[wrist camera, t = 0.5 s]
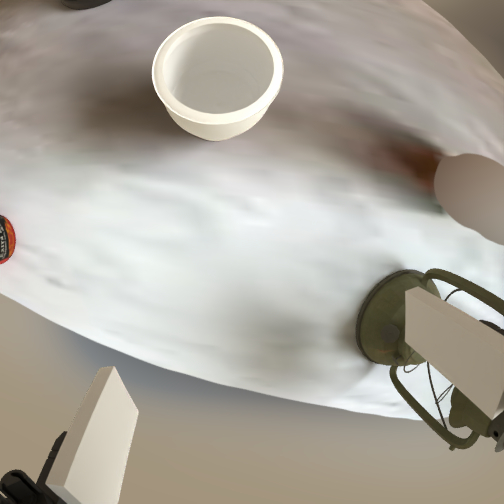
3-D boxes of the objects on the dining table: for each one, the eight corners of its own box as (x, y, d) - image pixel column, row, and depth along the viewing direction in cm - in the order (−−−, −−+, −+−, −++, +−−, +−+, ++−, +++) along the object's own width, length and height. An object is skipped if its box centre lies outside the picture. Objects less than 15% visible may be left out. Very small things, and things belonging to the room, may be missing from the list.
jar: (170, 148, 35) (144, 124, 20) (178, 73, 33) (162, 15, 18) (255, 151, 36) (282, 130, 22) (260, 77, 34) (287, 22, 20)
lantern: (376, 250, 41) (552, 335, 12) (452, 266, 44) (589, 328, 15) (338, 371, 45) (432, 513, 16) (416, 369, 48) (512, 465, 19)
